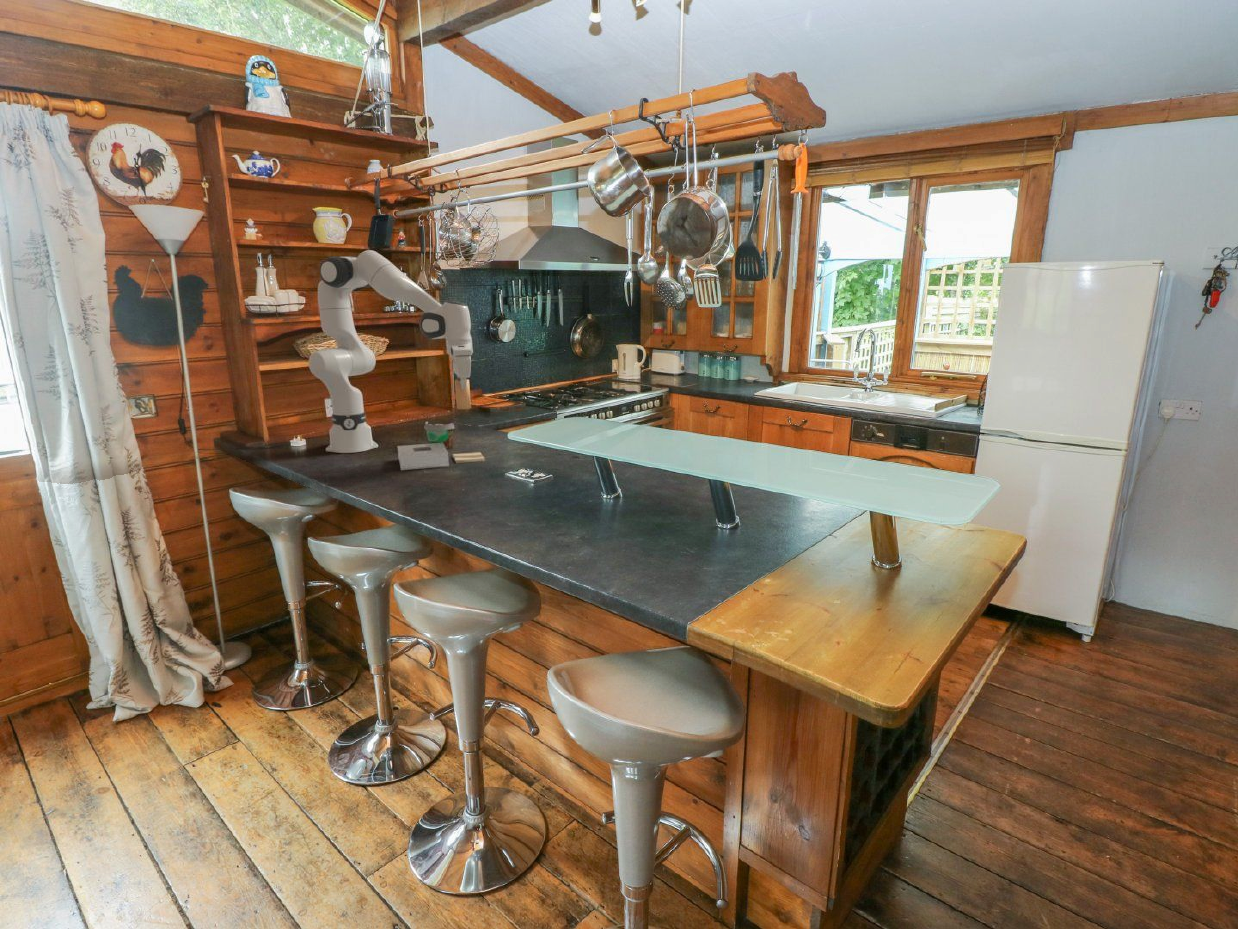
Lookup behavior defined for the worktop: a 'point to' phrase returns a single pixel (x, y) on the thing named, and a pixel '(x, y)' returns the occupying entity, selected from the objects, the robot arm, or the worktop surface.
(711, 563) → the worktop surface
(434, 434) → the food container
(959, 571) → the worktop surface
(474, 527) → the worktop surface
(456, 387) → the tan grey-topped cylinder
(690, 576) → the worktop surface
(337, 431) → the robot arm
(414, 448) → the housing
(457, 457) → the coaster
